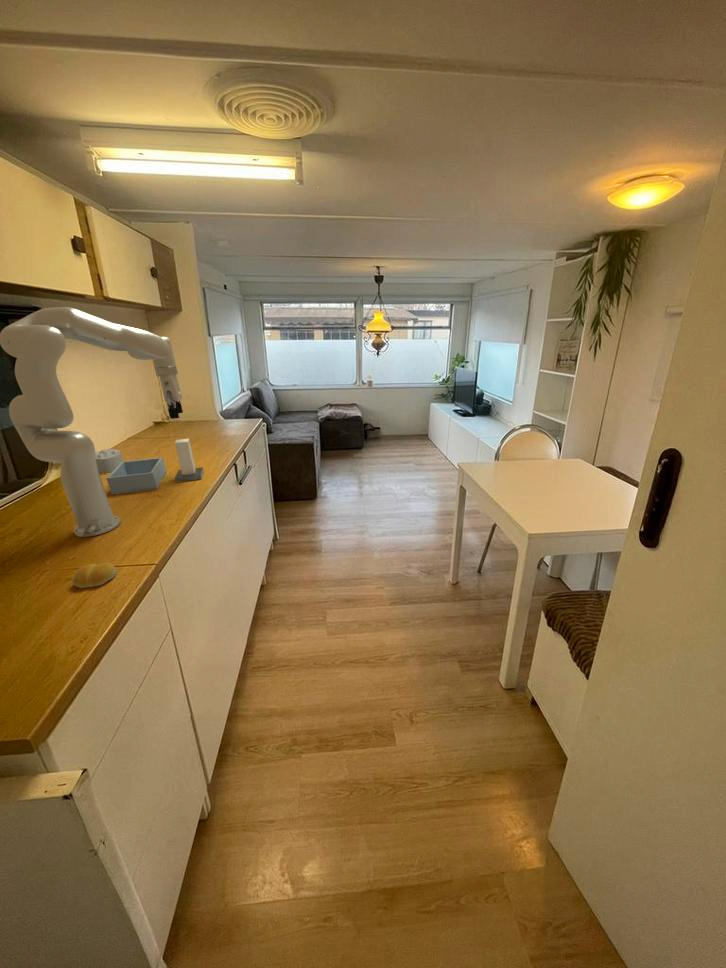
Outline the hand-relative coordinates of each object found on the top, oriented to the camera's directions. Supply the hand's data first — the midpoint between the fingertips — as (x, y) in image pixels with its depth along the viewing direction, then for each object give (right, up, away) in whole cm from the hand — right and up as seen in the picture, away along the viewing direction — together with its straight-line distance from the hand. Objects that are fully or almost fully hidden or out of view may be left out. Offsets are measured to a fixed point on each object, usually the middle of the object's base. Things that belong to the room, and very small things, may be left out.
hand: (176, 415), depth 150 cm
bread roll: (+7, -52, -55) cm, 76 cm away
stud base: (+1, -24, +10) cm, 26 cm away
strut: (+1, -23, +9) cm, 24 cm away
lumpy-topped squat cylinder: (-41, -21, +22) cm, 52 cm away
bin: (-17, -27, +5) cm, 33 cm away
